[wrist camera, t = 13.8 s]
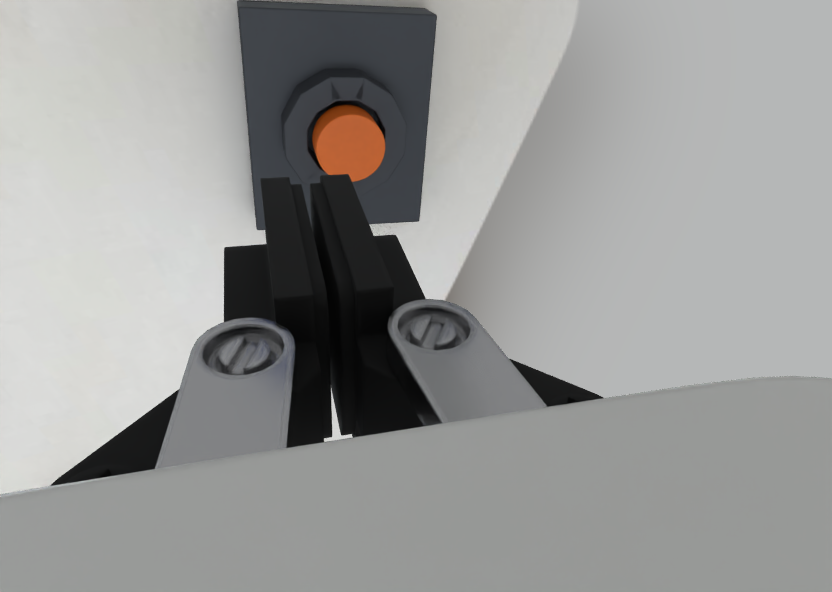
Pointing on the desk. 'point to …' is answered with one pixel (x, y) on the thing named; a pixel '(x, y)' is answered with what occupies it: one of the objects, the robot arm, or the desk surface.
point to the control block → (338, 93)
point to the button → (348, 142)
